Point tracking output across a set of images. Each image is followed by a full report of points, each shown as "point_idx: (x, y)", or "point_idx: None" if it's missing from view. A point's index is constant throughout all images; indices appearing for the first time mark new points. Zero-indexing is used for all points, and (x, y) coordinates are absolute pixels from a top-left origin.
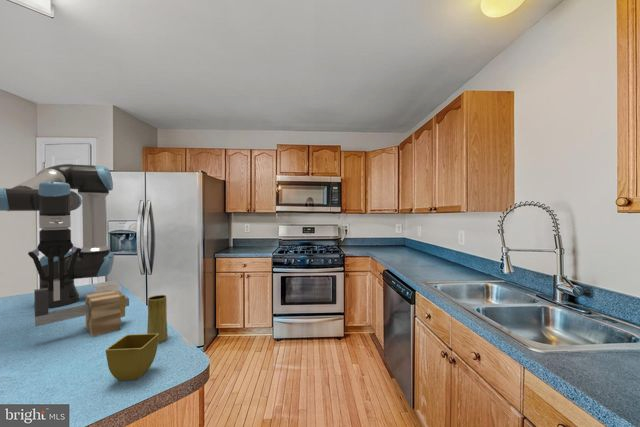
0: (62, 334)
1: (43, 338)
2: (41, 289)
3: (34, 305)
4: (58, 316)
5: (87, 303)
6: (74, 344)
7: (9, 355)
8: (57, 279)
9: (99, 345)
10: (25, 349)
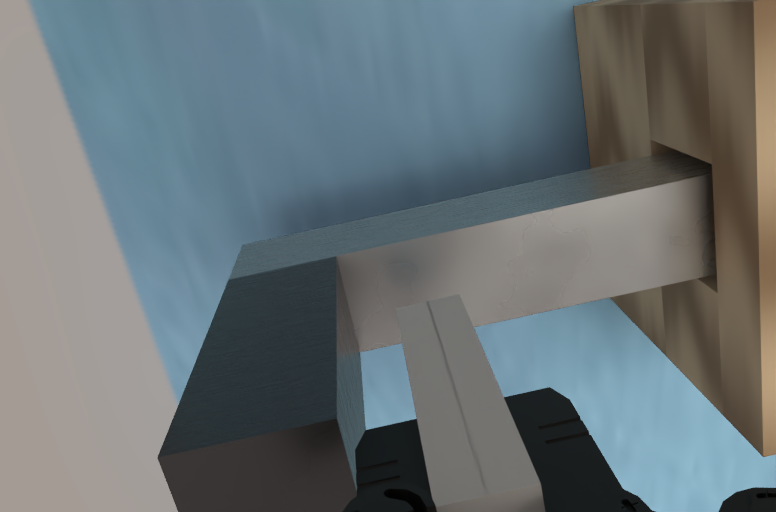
0: (415, 92)
1: (295, 99)
2: (269, 496)
3: (211, 330)
4: None
5: (703, 145)
6: (504, 363)
7: (166, 321)
8: (519, 502)
9: (629, 462)
10: (231, 270)
